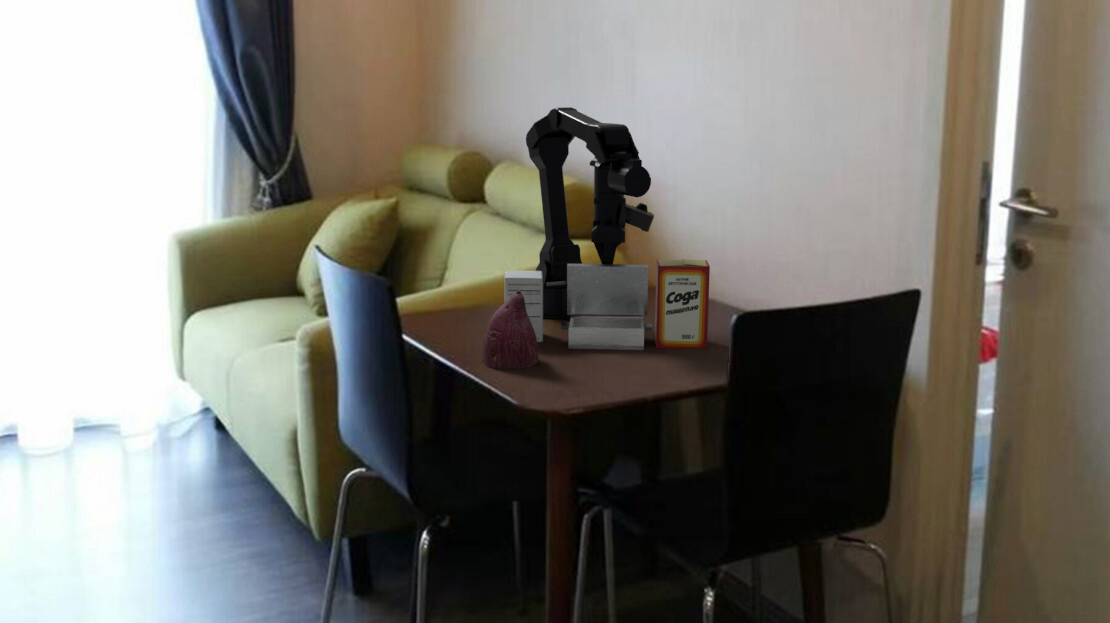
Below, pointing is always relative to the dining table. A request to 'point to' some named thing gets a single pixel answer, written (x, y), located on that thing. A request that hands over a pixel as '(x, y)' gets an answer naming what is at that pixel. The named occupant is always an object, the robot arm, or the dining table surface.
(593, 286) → the lid
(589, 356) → the dining table surface
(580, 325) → the white rectangular box
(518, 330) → the vegetable
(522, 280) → the supplement box
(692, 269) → the baking soda box
